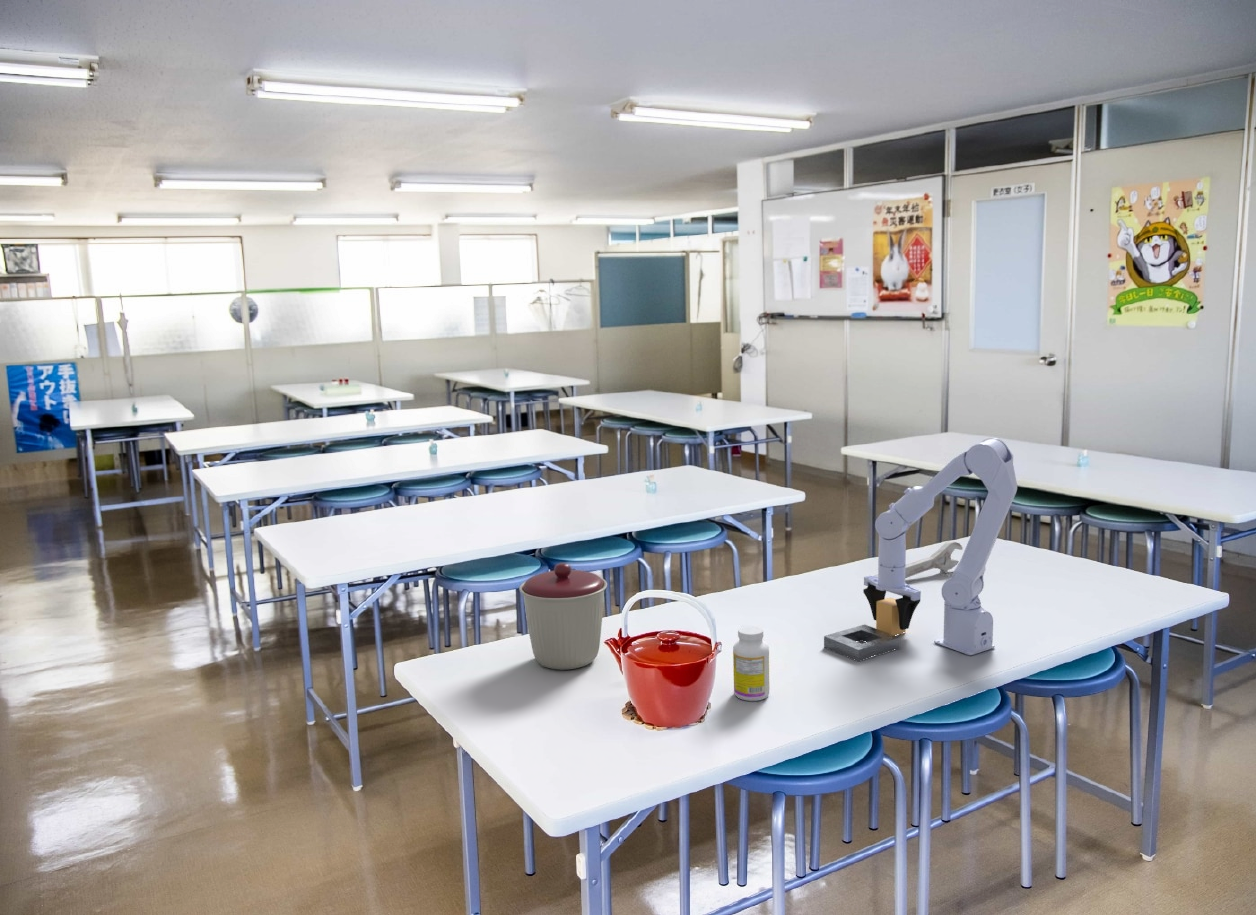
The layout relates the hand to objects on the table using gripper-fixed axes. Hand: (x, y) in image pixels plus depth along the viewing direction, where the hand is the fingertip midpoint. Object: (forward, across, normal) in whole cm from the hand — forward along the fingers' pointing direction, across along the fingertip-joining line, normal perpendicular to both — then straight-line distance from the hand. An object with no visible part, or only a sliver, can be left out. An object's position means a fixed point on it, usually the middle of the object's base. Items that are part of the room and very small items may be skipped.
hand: (890, 623), depth 210 cm
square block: (+2, 0, 0) cm, 2 cm away
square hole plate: (+2, +3, -12) cm, 13 cm away
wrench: (+2, -24, +36) cm, 43 cm away
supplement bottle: (+2, +8, -46) cm, 47 cm away
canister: (+2, -28, -66) cm, 72 cm away
